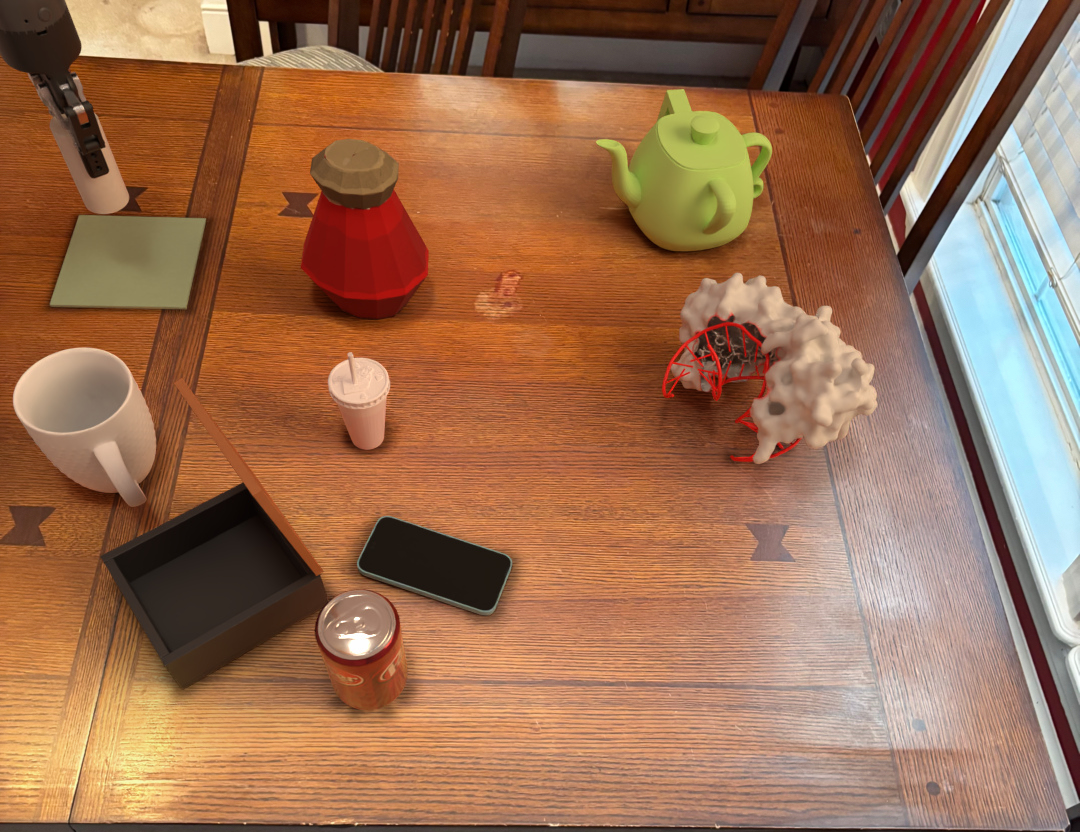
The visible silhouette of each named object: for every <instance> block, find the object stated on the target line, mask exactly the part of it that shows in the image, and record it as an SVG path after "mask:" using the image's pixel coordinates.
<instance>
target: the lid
mask: <svg viewBox="0 0 1080 832" xmlns="http://www.w3.org/2000/svg"><path fill="white" fill-rule="evenodd" d="M173 385H174V386H175V387H176V389H177V390H178V392H179V393H180V395H181V397H183V399H184V400H185V402H186V403H187V405H188V406H189V407H190V409H191V410H192V412H193V413H194V415H195V416H196V417H197V419H198V421H200V423H201V425H202V426H203V428H204V429H205V430H206V432H207V433H208V434H209V436H210V437H211V439H212V440H213V441H214V443H215V444H216V446H217V447H218V449H219V450H220V452H221V453H222V454H223V456H224V458H225V459H226V460H227V462H228V463H229V464H230V466H231V467H232V468H233V470H234V472H235V473H236V474H237V476H238V477H239V479H240V480H241V481H242V483H244V484H245V486H246V487H247V488H248V490H249V491H250V493H251V494H252V496H253V497H254V498H255V499H256V501H257V502H258V503H259V504H260V506H261V507H262V508H263V509H264V511H265V512H266V513H267V515H268V516H269V517H270V518H271V520H272V521H273V522H274V523H275V525H276V526H277V527H278V528H279V530H280V531H281V532H282V533H283V535H284V536H285V537H286V538H287V540H288V541H289V542H290V543H291V545H292V546H293V547H294V549H295V550H296V551H297V552H298V554H299V555H300V556H301V557H302V559H303V560H304V561H305V562H306V564H307V565H308V566H309V567H310V569H311V570H312V571H313V572H314V574H315V575H316V576H318V575H319V574H320V575H321V574H322V573H323V572H324V570H323V569H322V567H321V565H320V564H319V563H318V562H317V560H316V559H315V557H314V556H313V554H312V553H311V552H310V550H309V549H308V547H307V546H306V545H305V543H304V542H303V540H302V539H301V537H300V536H299V535H298V533H297V532H296V530H295V529H294V528H293V526H292V525H291V524H290V522H289V521H288V520H287V518H286V516H285V515H284V514H283V512H282V511H281V510H280V508H279V506H278V505H277V503H276V502H275V501H274V500H273V498H272V497H271V495H270V494H269V492H268V491H267V490H266V488H265V487H264V485H263V484H262V483H261V482H260V479H258V477H257V476H256V474H255V473H254V471H253V470H252V469H251V468H250V466H249V465H248V464H247V462H246V461H245V460H244V459H243V457H242V456H241V454H240V453H239V452H238V451H237V449H236V448H235V446H234V445H233V444H232V442H231V441H230V440H229V439H228V437H227V435H226V434H225V433H224V432H223V430H222V429H221V428H220V426H219V425H218V424H217V423H216V421H215V420H214V418H213V417H212V416H211V414H210V413H209V412H208V411H207V409H206V408H205V407H204V405H203V404H202V402H201V401H200V400H199V398H197V396H196V395H195V394H194V392H193V391H192V390H191V388H190V387H189V385H188V384H187V382H186V381H185V380H184V379H183V378H182V377H180V378H178V379H177V380H175V381H174V382H173Z"/></svg>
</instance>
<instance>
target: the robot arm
mask: <svg viewBox="0 0 1080 832" xmlns="http://www.w3.org/2000/svg"><path fill="white" fill-rule="evenodd" d="M76 28H77V27H76V26H75V23H74V20H73V17H72V16H71V13H70V10H69V7H68V4H67V2H66V0H0V56H1V58H2V60H3V61H4V63H5V64H6V65H7V66H9V67H10V68H12V69H14V70H16V71H18V72H21V73H25V74H27V76H28V79H29V80H30V81H31V83H32V85H33V86H34V88H35V90H36V93H37V96H38V97H39V99H40V101H41V102H42V103H43V105H44V106H45V107H47V109H48V113H49V115H50V116H51V117H52V118H53V117H54V116H55V117H56V119H57V121H58V123H59V125H60V126H61V127H62V128H64V129H66V130H68V133H69V135H70V137H71V139H72V141H73V145H74V147H75V148H77V150H78V153H79V155H80V157H81V159H82V162H83V164H84V166H85V169H86V171H87V173H88V174H89V176H90V177H91V178H98V177H100V176H103V175H106V174H108V173H109V168H108V165H107V163H106V160H105V158H104V155H103V153H102V150H101V149H103V148H105V147H106V146H105V141H104V140H103V137H102V134H101V131H100V128H99V125H98V122H97V120H96V117H95V114H96V113H95V110H94V107H93V103H92V102H90V101H89V99H88V100H87V98H86V96H85V94H84V86H83V85H82V82H81V80H80V78H79V76H78V74H77V72H75V71H72V70H71V66H72V65H73V63H74V62H75V61H76V60H77V59H78V58H79V57H80V55H81V53H82V49H83V48H82V47H83V46H82V41H81V38H80V36H79V33H78V30H77V29H76ZM94 113H95V114H94ZM61 114H65V115H66V117H67V118H63V117H62V115H61Z"/></svg>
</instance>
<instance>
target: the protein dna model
mask: <svg viewBox="0 0 1080 832" xmlns="http://www.w3.org/2000/svg"><path fill="white" fill-rule="evenodd" d="M832 314H833V308H832V307H831V306H830V305H821V306H820V307H818V308H817V310H816V313H815V315H810V314H807V313H806V312H805V311H804V309H803V308H802V307H800V306H798V305H797V306H795V305H794V306H793V305H791V304H789V303H787V302H786V301H785V299H784V297H783V294H782V291H781V288H780V287H779V286H777V285H772V286H769V285H767V278H766V276H764V275H760V274H759V275H757V276H756V277H755V276H754V277H753V278H752V277H750V278H749V279H747V281H745V282H744V276H743V274H742V273H740V272H735V273H733V274H732V276H731V277H729V278H728V279H726V280H725V281H722V282H719V283H718V282H717V280H716V279H713V278H709V277H704V278H702V279H701V281H700V285H699V287H698V289H697V290H696V291H694V292H691V293H690V294H688V295H687V297H686V298H685V300H684V305H683V306H682V308H681V310H680V313H679V318H680V321H681V326H680V327H679V329H678V332H679V334H678V340H679V342H680V344H681V346H680V347H679V348H678V349H677V350H676V352H675V353H674V354H673V356H672V357H671V359H670V360H669V362H668V364H667V367H666V370H665V372H664V376H663V380H662V384H661V393H662V396H663V398H664V399H670V398H674V396H675V393H672V392H673V390H674V389H675V387H676V386H677V384H678V382H681V384H682V387H683V389H686V390H689V389H692V390H697V391H698V392H699V391H700V392H705V393H709V392H710V391H711V395H712V398H713V400H714V401H715V402H718V401H719V399H720V398H721V395H722V392H723V389H722V388H723V386H724V385H726V384H728V383H745V382H748V381H749V380H763V382H762V385H761V388H760V392H759V394H758V395H757V397H753V399H752V400H753V401H752V403H751V405H750V407H748V409H747V410H746V411H745V412H744V413H743V414H741V415H740V416H739V417H737V418H736V419H735V420H734V423H735V424H739V423H740V424H742V425H743V426H746V427H747V428H749V429H751V430H752V431H753V432H755V433H756V439H757V440H758V446H757V448H756V450H755V452H754V453H753V454H751V455H750V456H738V457H737V456H734V455H733V454H732V455H730V456H729V459H731V460H732V461H733V462H738V463H739V462H740V463H752V462H753V463H754V464H756V465H761V464H764V463H766V462H768V461H769V460H770V459H774V458H777V457H779V456H781V455H783V454H785V453H787V452H789V451H790V450H792V449H794V448H795V447H797V445H798V444H799V443H800V442H801V440H802V439H803V438H804V442H805V444H806V446H807V447H809V448H810V449H812V450H817V449H821V448H823V447H825V446H826V445H827V444H828V443H829V442H835V441H836V440H838V441H839V440H840V441H841V440H843V439H845V438H846V436H847V435H848V433H849V429H850V425H851V423H852V420H853V419H854V418H856V417H857V416H860V415H862V416H868V417H869V416H871V415H872V414H873V413H874V411H875V410H876V409H877V407H878V401H877V398H878V393H877V390H876V388H875V387H874V386H873V385H872V384H870V383H871V382H872V380H873V378H874V376H875V366H874V364H872V363H870V362H869V363H867V362H866V361H865V360H864V359H863V354H862V353H861V351H860V350H857V349H855V347H854V346H853V345H850V344H846V342H845V341H844V340H842V339H841V338H840V336H841V334H842V333H841V328H840V327H839V326H837V325H835V324H833V322H832V321H831V318H832ZM683 350H684V351H683ZM682 351H683V352H682ZM681 352H682V354H681ZM680 354H681V356H680ZM678 356H680V358H679V360H678V361H675V360H676V359H677V358H678ZM670 372H671V373H672V375H673V378H671V379H669V380H668V378H669V375H670ZM753 374H755V375H753ZM716 378H717V384H716ZM726 378H727V379H726ZM671 382H674V383H673V385H672V386H671V387H670V390H669V391H668V392H667V391H666V387H667V384H669V383H671ZM766 389H767V390H766ZM765 391H767V392H766V394H765ZM764 394H765V395H764ZM746 418H751V419H752V421H753V422H750V421H746V420H744V419H746ZM794 440H795V441H794ZM782 443H783V444H789V445H788V446H787V447H785V448H784V446H783V444H782ZM776 446H777V447H778V448H779V449H781V450H779V451H777V452H775V453H774V451H775V449H776Z"/></svg>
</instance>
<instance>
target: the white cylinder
mask: <svg viewBox="0 0 1080 832" xmlns="http://www.w3.org/2000/svg"><path fill="white" fill-rule="evenodd" d="M94 114H95V117H96V120H97V122H98V125H99V128H100V131H101V134H102V137H103V140H104V141H105V146H106V147H105V148H103V149H101V150H102V153H103V155H104V158H105V160H106V163H107V165H108V168H109V173H108V174H106V175H103V176H100V177H98V178H91V177H90V176H89V174H88V173H87V171H86V169H85V166H84V164H83V162H82V159H81V157H80V155H79V153H78V150H77V148H75V147H74V145H73V141H72V139H71V137H70V135H69V133H68V130H66V129H64V128H62V127H61V126H60V125H59V123H58V121H57V119H56V117H55V116H54V117H53V116H52V118H51V119H50V121H49V130H50V132H51V134H52V136H53V139H54V140H55V142H56V145H57V147H58V149H59V151H60V154H61V155H62V158H63V160H64V162H65V164H66V167H67V169H68V171H69V173H70V176H71V178H72V180H73V182H74V184H75V186H76V189H77V192H78V193H79V195H80V198H81V200H82V202H83V205H84V207H85V208H86V209H87V210H88V211H89V212H91V213H93V214H96V215H109V214H113V213H117V212H119V211H121V210H123V209H124V208H125V207H126V206H127V205H128V203H129V202H130V201H129V200H130V194H129V192H128V189H127V186H126V184H125V182H124V178H123V177H122V173H121V170H120V168H119V166H118V164H117V161H116V159H115V156H114V154H113V150H112V149H111V146H110V143H109V141H108V139H107V136H106V133H105V131H104V128H103V126H102V123H101V121H100V119H99V116H98V115H97V114H96V113H95V112H94ZM61 115H62V117H63V118H67V117H66V115H65V114H61Z"/></svg>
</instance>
